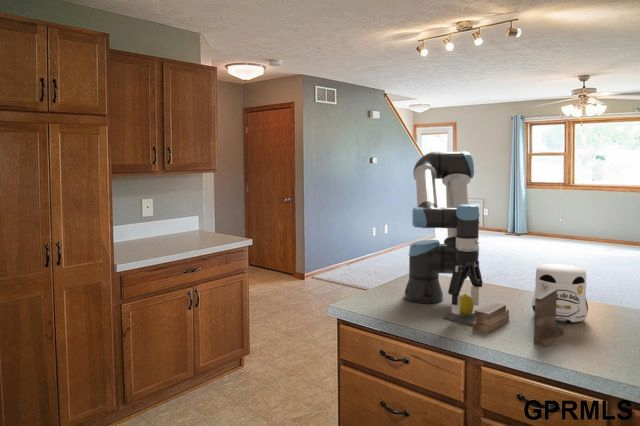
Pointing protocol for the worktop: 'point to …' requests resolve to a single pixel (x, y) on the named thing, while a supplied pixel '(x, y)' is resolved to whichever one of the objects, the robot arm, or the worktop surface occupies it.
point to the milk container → (563, 290)
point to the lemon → (466, 305)
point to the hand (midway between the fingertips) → (465, 309)
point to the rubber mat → (461, 318)
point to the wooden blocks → (543, 320)
